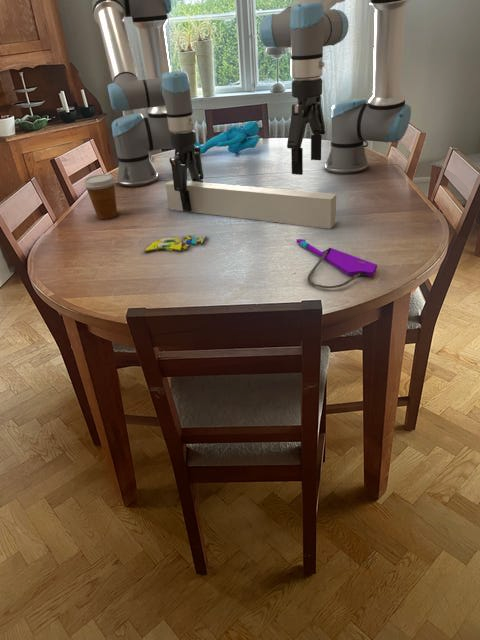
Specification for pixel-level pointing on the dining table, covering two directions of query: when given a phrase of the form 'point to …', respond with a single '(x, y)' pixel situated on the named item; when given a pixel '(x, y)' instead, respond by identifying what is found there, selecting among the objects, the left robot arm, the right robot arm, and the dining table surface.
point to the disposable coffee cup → (102, 195)
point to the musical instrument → (340, 263)
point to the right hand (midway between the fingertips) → (307, 166)
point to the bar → (258, 203)
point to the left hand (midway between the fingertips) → (192, 207)
